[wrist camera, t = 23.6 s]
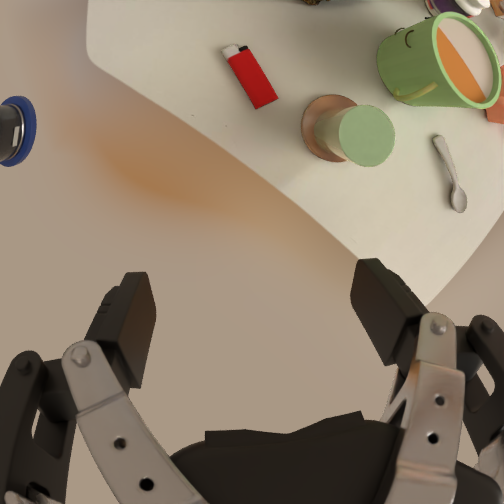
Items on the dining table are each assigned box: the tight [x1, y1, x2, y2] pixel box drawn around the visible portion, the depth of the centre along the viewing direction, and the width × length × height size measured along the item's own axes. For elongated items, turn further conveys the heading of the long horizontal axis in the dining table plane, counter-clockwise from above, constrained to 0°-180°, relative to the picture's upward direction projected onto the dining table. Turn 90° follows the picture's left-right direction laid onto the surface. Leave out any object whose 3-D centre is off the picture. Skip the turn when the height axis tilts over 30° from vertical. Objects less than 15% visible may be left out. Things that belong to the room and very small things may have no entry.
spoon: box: [433, 135, 467, 213], centre depth 30 cm, size 3×12×2 cm, turn 33°
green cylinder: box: [314, 105, 395, 167], centre depth 24 cm, size 5×5×9 cm
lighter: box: [221, 44, 278, 109], centre depth 26 cm, size 3×1×8 cm
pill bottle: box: [425, 0, 490, 18], centre depth 15 cm, size 5×5×10 cm
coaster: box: [301, 95, 358, 162], centre depth 29 cm, size 8×8×1 cm
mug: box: [377, 12, 502, 109], centre depth 20 cm, size 13×10×12 cm
